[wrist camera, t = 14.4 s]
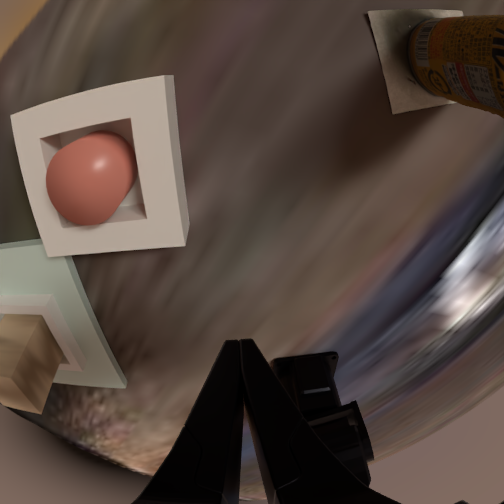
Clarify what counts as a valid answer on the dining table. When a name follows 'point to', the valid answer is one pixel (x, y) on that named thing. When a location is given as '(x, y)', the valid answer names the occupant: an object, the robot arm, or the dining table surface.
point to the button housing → (148, 160)
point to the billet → (27, 361)
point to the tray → (58, 312)
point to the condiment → (441, 58)
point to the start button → (91, 177)
